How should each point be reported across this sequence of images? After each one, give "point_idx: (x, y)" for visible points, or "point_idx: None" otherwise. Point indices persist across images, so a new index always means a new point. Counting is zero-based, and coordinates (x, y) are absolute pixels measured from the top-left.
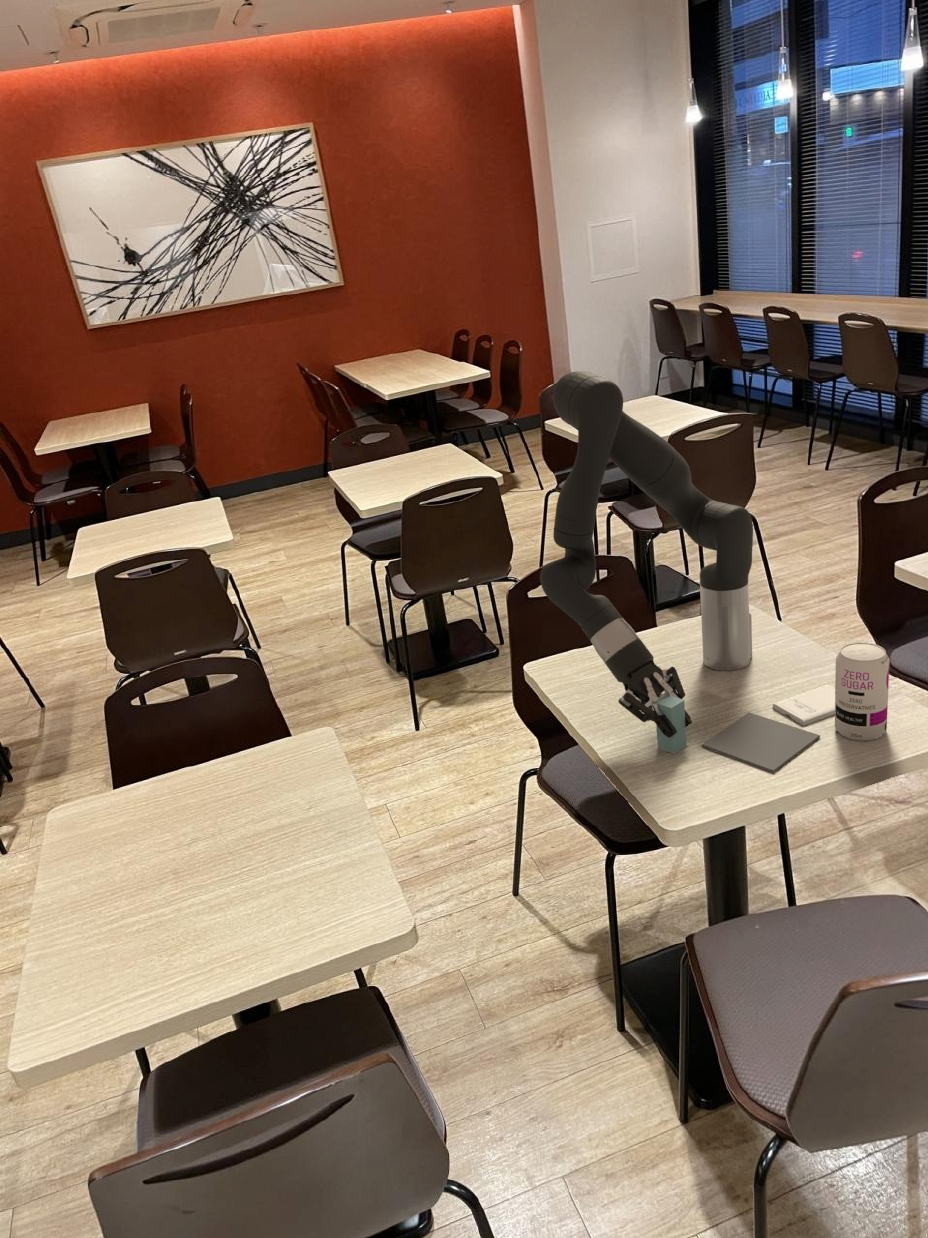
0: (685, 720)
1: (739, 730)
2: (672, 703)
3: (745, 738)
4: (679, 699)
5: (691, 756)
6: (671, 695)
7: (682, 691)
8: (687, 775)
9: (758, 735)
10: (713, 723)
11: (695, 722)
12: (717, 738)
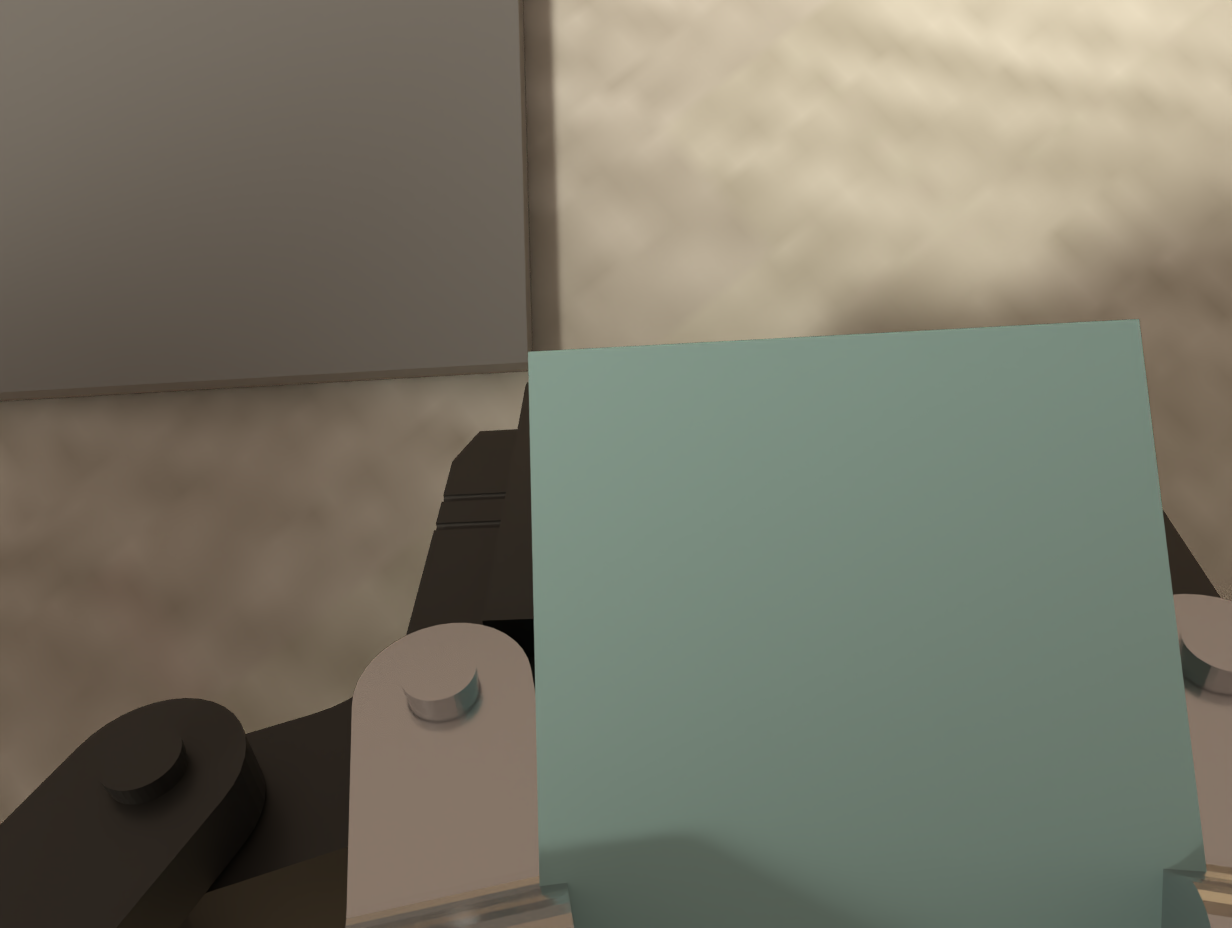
0: None
1: (39, 238)
2: (902, 476)
3: (150, 88)
4: (577, 483)
5: (771, 324)
6: (496, 868)
7: (68, 818)
8: (1103, 108)
9: (26, 29)
10: (29, 606)
11: None
12: (321, 307)
